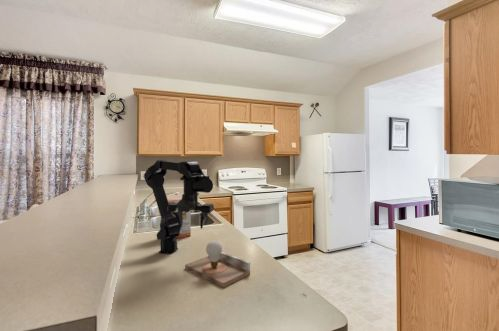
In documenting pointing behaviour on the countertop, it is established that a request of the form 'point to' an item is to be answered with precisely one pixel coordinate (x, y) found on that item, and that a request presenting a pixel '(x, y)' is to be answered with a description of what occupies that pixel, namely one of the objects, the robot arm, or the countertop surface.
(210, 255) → the light bulb
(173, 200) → the cracker box
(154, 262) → the countertop surface
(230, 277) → the board
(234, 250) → the countertop surface
